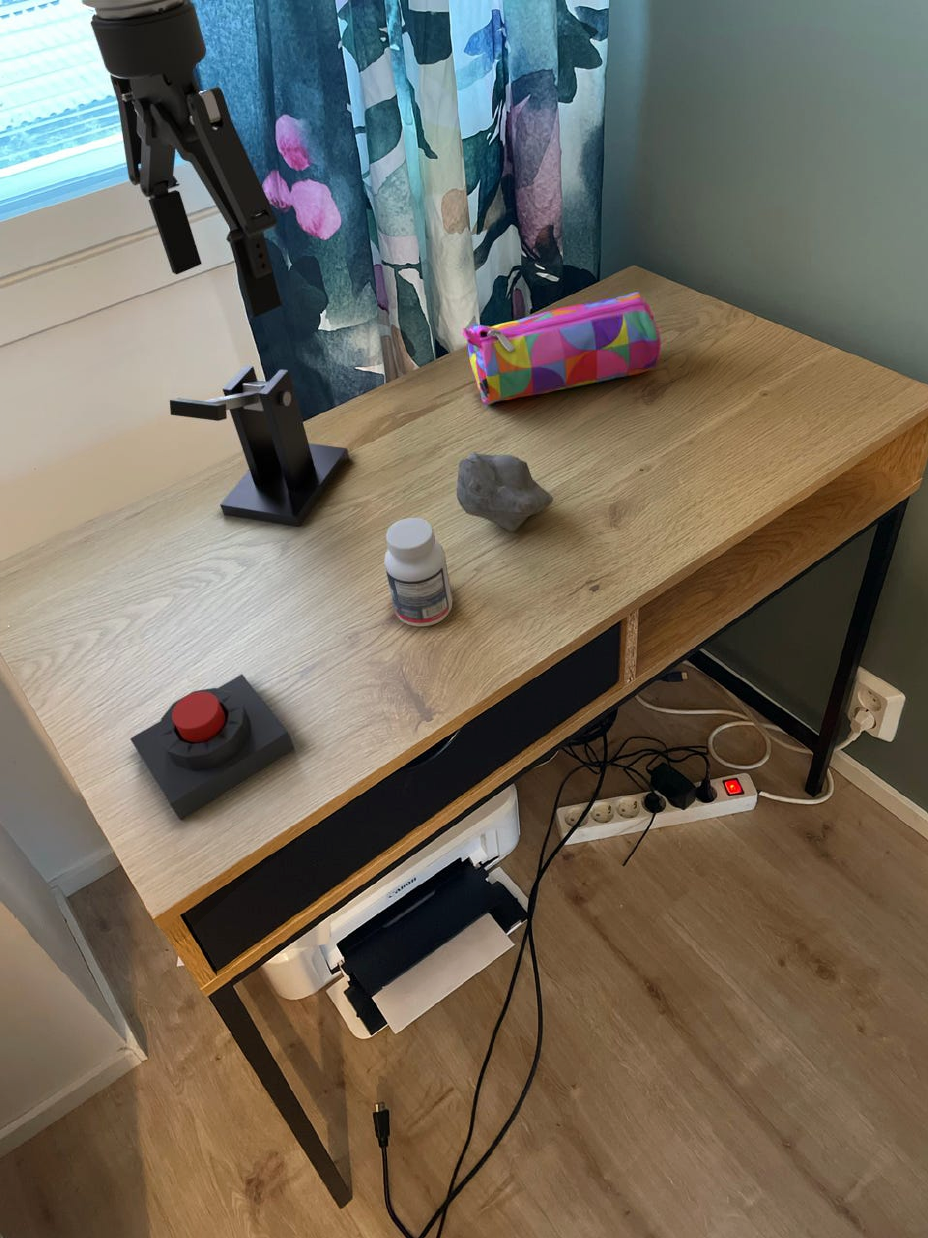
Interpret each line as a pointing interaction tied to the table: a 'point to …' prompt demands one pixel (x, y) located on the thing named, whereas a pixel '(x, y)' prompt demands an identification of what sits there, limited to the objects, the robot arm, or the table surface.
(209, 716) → the button
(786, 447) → the table surface
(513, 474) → the fossil
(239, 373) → the black lever stand
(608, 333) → the pencil case
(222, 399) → the lever
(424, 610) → the pill bottle
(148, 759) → the button box
